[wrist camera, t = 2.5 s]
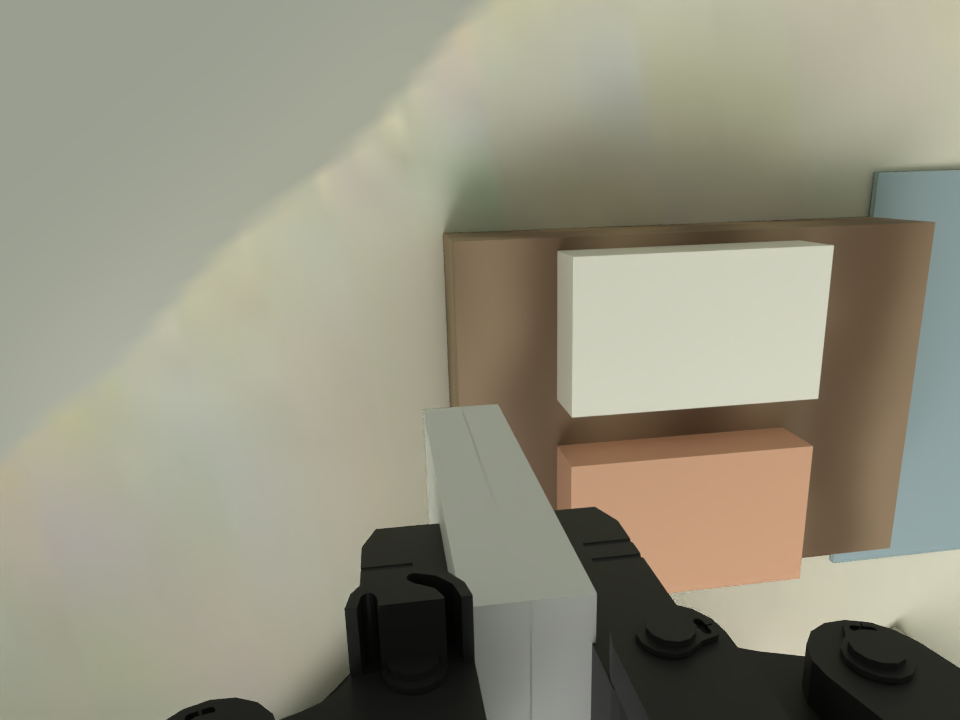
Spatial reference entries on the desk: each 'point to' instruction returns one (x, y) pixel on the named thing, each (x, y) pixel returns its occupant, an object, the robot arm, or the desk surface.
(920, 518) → the mat
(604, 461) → the terracotta card
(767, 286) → the ivory card
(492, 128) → the desk surface
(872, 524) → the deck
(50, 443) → the desk surface
